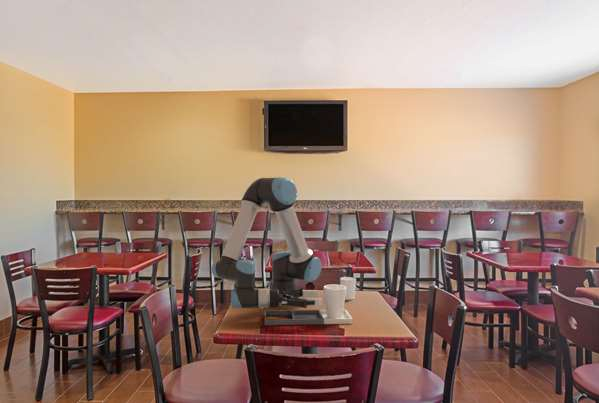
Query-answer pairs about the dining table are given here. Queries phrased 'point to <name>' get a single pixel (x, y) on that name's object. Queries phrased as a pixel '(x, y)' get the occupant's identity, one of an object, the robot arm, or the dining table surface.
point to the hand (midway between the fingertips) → (320, 297)
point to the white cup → (349, 287)
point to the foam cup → (334, 300)
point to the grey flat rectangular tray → (306, 317)
